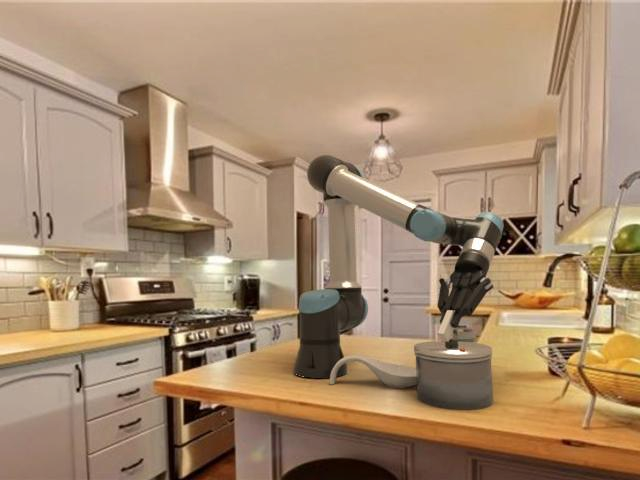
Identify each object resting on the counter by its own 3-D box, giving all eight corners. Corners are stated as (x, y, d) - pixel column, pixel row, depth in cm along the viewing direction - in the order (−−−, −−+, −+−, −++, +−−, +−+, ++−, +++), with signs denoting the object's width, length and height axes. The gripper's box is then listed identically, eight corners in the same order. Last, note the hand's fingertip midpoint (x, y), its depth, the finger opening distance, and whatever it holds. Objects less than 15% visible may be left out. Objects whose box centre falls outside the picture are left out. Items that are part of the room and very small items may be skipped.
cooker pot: (442, 383, 103) (440, 342, 104) (509, 395, 92) (506, 350, 93) (401, 399, 91) (400, 353, 92) (473, 415, 79) (470, 363, 80)
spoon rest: (422, 380, 108) (421, 352, 108) (426, 392, 96) (425, 361, 97) (333, 378, 111) (332, 351, 112) (327, 390, 100) (326, 360, 100)
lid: (437, 342, 103) (436, 332, 104) (504, 350, 92) (503, 338, 92) (399, 352, 92) (399, 340, 92) (470, 362, 80) (470, 348, 80)
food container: (480, 367, 120) (478, 332, 121) (458, 366, 122) (457, 332, 122) (473, 358, 132) (472, 327, 133) (453, 358, 134) (452, 327, 134)
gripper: (505, 271, 99) (478, 351, 86) (455, 272, 108) (423, 344, 95) (495, 248, 96) (465, 328, 83) (444, 251, 105) (410, 323, 92)
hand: (443, 337), depth 89 cm, fingers closed
